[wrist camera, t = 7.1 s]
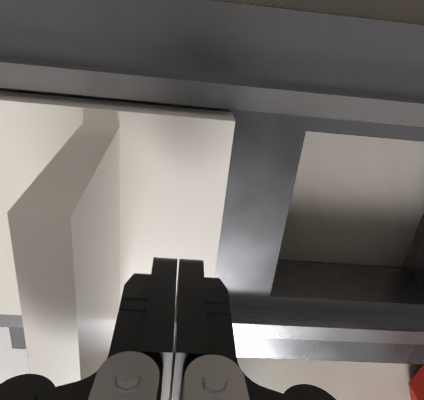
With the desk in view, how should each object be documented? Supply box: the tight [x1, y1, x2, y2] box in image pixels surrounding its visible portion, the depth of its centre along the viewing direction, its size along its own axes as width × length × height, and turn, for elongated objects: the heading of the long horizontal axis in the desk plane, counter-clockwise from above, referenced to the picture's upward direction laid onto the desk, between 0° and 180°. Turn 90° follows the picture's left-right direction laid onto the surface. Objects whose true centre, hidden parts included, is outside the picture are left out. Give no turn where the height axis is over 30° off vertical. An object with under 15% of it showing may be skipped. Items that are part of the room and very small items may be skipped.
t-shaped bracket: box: [0, 91, 235, 387], centre depth 13 cm, size 9×9×7 cm
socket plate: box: [0, 0, 424, 364], centre depth 18 cm, size 22×16×4 cm
